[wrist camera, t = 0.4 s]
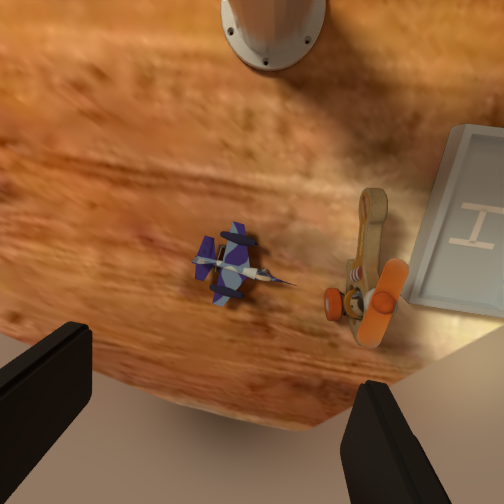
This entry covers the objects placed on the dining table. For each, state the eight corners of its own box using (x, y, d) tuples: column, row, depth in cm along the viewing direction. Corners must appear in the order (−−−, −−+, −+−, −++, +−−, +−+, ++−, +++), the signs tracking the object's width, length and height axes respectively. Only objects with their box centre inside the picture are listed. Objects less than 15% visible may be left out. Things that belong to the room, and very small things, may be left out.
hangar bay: (451, 127, 36) (466, 123, 34) (563, 141, 36) (588, 138, 33) (399, 294, 43) (408, 303, 41) (492, 308, 43) (508, 318, 40)
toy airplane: (299, 280, 44) (301, 289, 41) (222, 312, 47) (218, 323, 44) (262, 205, 42) (261, 208, 38) (184, 244, 45) (176, 250, 41)
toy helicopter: (323, 316, 46) (341, 376, 33) (329, 185, 40) (354, 194, 27) (375, 317, 45) (415, 378, 32) (389, 184, 39) (445, 192, 26)
